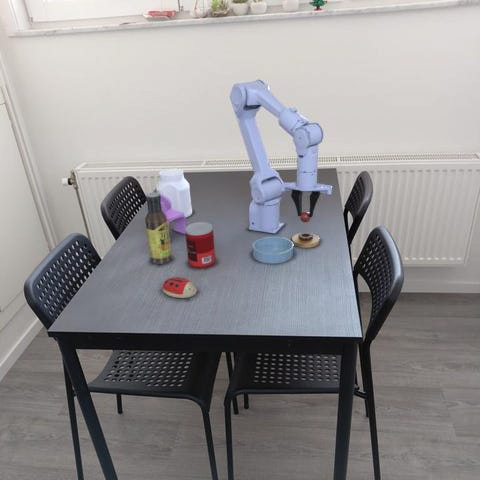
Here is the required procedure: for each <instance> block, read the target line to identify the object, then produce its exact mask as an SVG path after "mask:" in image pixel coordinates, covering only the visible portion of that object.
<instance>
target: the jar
mask: <svg viewBox="0 0 480 480" xmlns="http://www.w3.org/2000/svg"><path fill="white" fill-rule="evenodd" d="M158 175H159V176H158V177H159V181H158V183H157V185H156V186H155V189H156V193H160V194H163V195H164V196H166V197H167V198H168V199H169V200H170V201H171V209H174V210H176V211H179V212H182V213H184V216H185V219H187V218H188V217H190V216H192V214H193V207H192V200H191V199H192V198H191V190H190V188H191V186H190V183H189V181H188V180H187V179H186V178H185V176H184V175H185V174H184V170H183V169H181V168H176V167H174V168H166V169H162V170H160V171H159V172H158Z"/></svg>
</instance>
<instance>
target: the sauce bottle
mask: <svg viewBox="0 0 480 480" xmlns="http://www.w3.org/2000/svg"><path fill="white" fill-rule="evenodd" d="M145 200H146V203H147V205H146V206H147V211H148V212H147V214H146V215H145V229H146V235H147V237H146V238H147V244H148V250H149V257H150V261H151V262H152V263H153V264H157V265H164V264H167V263H169V262H171V261H172V245H171V237H170V229H169V224H168V220H167V217H166V215H165V214H164V212H163V211H162V207H161V201H160V200H161V195H160V193H157V192H155V191H153V192H148V193H147V194H145Z"/></svg>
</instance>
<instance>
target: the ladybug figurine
mask: <svg viewBox="0 0 480 480" xmlns="http://www.w3.org/2000/svg"><path fill="white" fill-rule="evenodd" d="M197 289H198V288H197V287H196V285H195V284H194V282H192V281H191V280H189V279H186V278H184V277H178V276H177V277H170V278H168V279H166V280H165V281H164V282H163V283H162V288H161V290H162V292H163V293H164V294H165V295H166V296H169V297H172V298H176V299H188V298H192V297H194V296H195V295H197V292H198V290H197Z"/></svg>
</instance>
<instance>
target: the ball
mask: <svg viewBox="0 0 480 480" xmlns="http://www.w3.org/2000/svg"><path fill="white" fill-rule="evenodd" d="M309 212H310V211H309ZM309 212H308V211H302V213H301V215H300V216H299V220H300V221H301V222H302V223H309V222H310V220H311V218H312V217H309Z"/></svg>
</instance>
